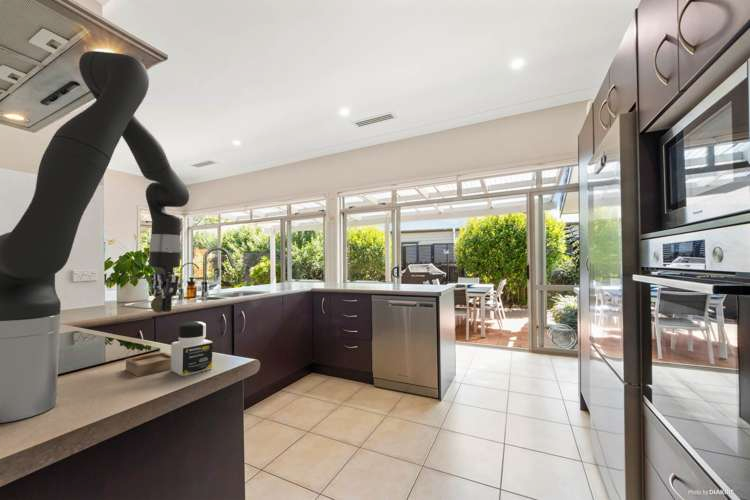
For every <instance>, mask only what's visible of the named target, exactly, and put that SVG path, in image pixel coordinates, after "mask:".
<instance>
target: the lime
mask: <svg viewBox="0 0 750 500" xmlns="http://www.w3.org/2000/svg"><path fill="white" fill-rule="evenodd" d="M172 305H173V302H171V306H172ZM150 307H151V310H152V311H153V312H154V313H156V314H157V313H158V314H159V313H163V312H162V311H161V308H162V295H159V296H157V297H154V298H153V299H152V300H151V303H150Z"/></svg>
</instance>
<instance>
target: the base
mask: <svg viewBox="0 0 750 500" xmlns="http://www.w3.org/2000/svg"><path fill="white" fill-rule="evenodd" d="M125 370H126V371H127V372H129V373H131V374H133V376H136V378H137V377H142V376H145V375H150V374H155V373H158V372H163V371H168V370H171V353H170V354H169V353H167V352H164V351H162V352H157V353H151V354H146V355H141V356H136V357H131V358H130V357H129V358H126V359H125Z"/></svg>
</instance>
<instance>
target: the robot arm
mask: <svg viewBox="0 0 750 500" xmlns="http://www.w3.org/2000/svg"><path fill="white" fill-rule="evenodd" d="M78 67H79V72H80V75H81V78H82V80H83V82H84V83H85V85H86V87H87V89H88V90H89V91H90V93H91V94H92V96H93V97H94V99H95V101H94V102H93V103H92V104H91V105H90V106H89V107H87V108H86V109H84V110H83V111H81V112H79V113H78V114H76V115H74V116H73V117H72V118H70V119H68V120H67V121H66V122H65V123H63V124H62V125H61V126H60V127H59V128H58V129H56V131H55V133H54V134H53V136H52V137H51V139H50V141H49V143H48V145H47V147H46V149H45V151H44V153H43V154H42V156H41V158H40V159H41V160H40V161H39V167H38V169H37V177H36V183H35V189H34V193H33V197H32V199H31V201H30V204H29V205H28V207H27V208H26V210H25V212H24V213H23V215H22V217H21V218H20V220H19V221H18V222H17V223H16V225H15V226H14V227H13V229H12V230H11V231H9V232H5V233H3V234H1V235H0V424H3V423H9V422H15V421H18V420H22V419H27V418H30V417H33V416H37V415H40V414H43V413H44V412H47V411H49V410H51V409H53V408H54V407H55V406H56V405H57V397H58V396H57V395H58V376H59V375H58V371H59V354H60V352H59V351H60V350H59V349H60V330H61V327H60V326H61V310H62V309H61V307H62V306H61V305H62V304H61V300H60V298H59V297H58V294H57V291H56V274H57V273H58V272H60V271H62V269H63V268H64V267H65V266H66V264H67V263H68V260H69V258H70V256H71V252H72V249H73V245H74V243H75V238H76V236H77V232H78V228H79V225H80V222H81V220H82V218H83V215H84V213H85V211H86V210H87V208H88V205H89V204H90V202H91V200H92V199H93V197H94V194H95V193H96V190H97V188H98V186H100V185H99V184H100V183H101V181H102V179H103V177H104V175H105V173H106V171H107V169H108V167H109V164H110V162H111V160H112V158H113V155H114V152H115V150H116V148H117V146H118V144H119V143H120V140H121V138H123V140H124V142H125V143H126V145H127V147H128V148H129V150H130V152H131V154H132V155H133V157H134V160H135V162H136V164H137V166H138V168H139V170H140V172H141V174H142V176H143V177H144V178H146V180H149V181H152V182H151V183H150V184H149V185H148V186H147V187H146V190H145V198H146V199H145V200H146V202H147V206H148V211H149V214H150V218H151V230H150V231H151V233H150V240H149V251H148V252H149V254H148V267H149V268H155V271H154V274H153V273H152V274H150V276H149V278H150V290H151V291H150V294H151V295H153V297H154V298H155V297H157V296H159V295H162V308H161V311H162V312H161V313H166V312H171V311H172V305H171V302H172V300H173V299H172V298H173V297H175V296H176V295H177V291H178V284H179V278H180V277H179V275H177V274H176V275H175V273H174V269H175V268H176V269H177V268H180V265H181V251H182V250H181V249H182V248H181V247H182V246H181V245H182V241H181V223H182V222H181V218H180V217H179V216H177V215H174V214H170V213H167V211H166V208H182V207H184V206H186V205H187V204H188V202H189V200H190V193H189V190H188V188H187V186H186V184H185V183H184V182H183V180H182V179H181V178H180V177H179V176H178V174H177V173H176V172H175V171H174V169H173V168H172V166H171V164H170V161H169V160H168V157H167V155H166V153H165V151H164V148H163V146H162V145H161V143H160V141H159V140H158V139H157V137H155V136H154V134H153V133H152V132H151V130H149V129H148V128H147V127H146V126H145V125H144V124H143V123H142V122H141V120H139V119H138V118H137V116H136V115H135V113H136V111H138V108H139V107H140V105H141V104H142V103H143V101H144V100H145V98H146V95H147V93H148V90H149V86H150V80H149V79H150V77H149V74H148V69H147V67H145V65H144V63H143V62H142V61H141V60H140V59H138V58H137V57H134V56H131V55H129V54H125V53H124V54H123V53H120V52H119V53H118V52H106V51H99V50H98V51H97V50H96V51H95V50H89V51H85V52H84V53H83V54H82V55H81V56H80V58H79V61H78ZM172 303H173V302H172Z"/></svg>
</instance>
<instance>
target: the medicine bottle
mask: <svg viewBox="0 0 750 500" xmlns="http://www.w3.org/2000/svg"><path fill="white" fill-rule="evenodd" d="M206 336H207V324H206V323H205V322H204V321H186V322H183V323H181V324H180V325H179V326H178V341H173V342H171V346H170V347H171V348H170V349H171V350H170V352H171V353H170V355H171V369H170V371H171V372H174V373H175V374H177V375H179V376H180V377H185V376H188V375H193V374H197V373H201V371H202V372H205V370H206V371H210V370H212V369H213V343H214V342H213V341H212V340H210V339H209V340H208V339H205V338H206ZM209 369H210V370H209Z"/></svg>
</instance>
